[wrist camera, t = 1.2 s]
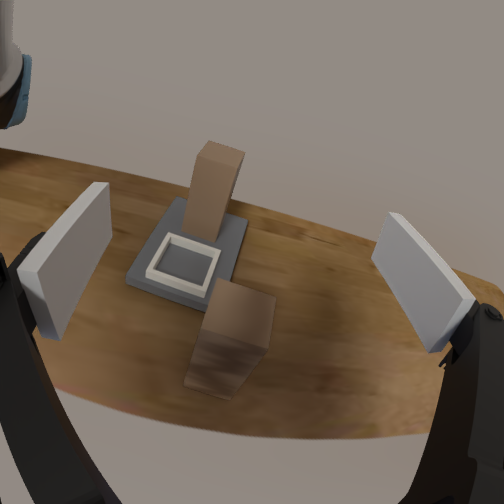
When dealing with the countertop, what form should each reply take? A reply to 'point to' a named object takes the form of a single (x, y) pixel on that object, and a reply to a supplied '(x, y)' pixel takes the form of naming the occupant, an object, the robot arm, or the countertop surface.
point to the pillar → (230, 339)
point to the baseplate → (195, 235)
